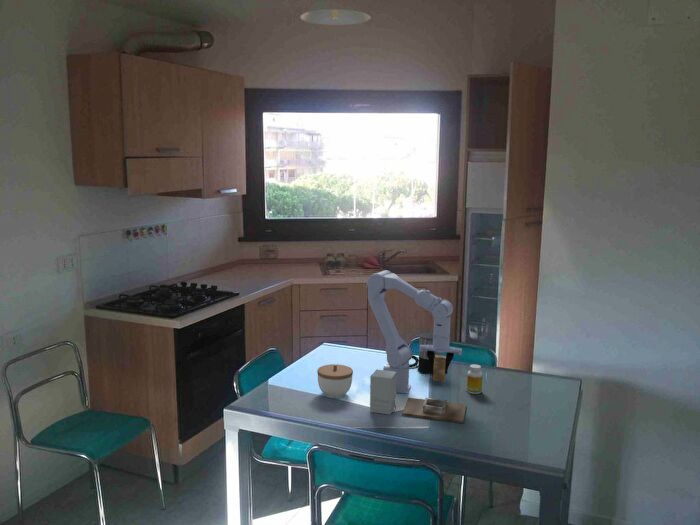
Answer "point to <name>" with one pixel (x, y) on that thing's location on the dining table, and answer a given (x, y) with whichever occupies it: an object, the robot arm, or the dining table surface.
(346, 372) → the lidded bowl
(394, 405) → the supplement box
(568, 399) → the dining table surface
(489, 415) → the dining table surface
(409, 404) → the holder board
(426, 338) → the milk frother
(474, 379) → the supplement bottle
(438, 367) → the brown wooden block
